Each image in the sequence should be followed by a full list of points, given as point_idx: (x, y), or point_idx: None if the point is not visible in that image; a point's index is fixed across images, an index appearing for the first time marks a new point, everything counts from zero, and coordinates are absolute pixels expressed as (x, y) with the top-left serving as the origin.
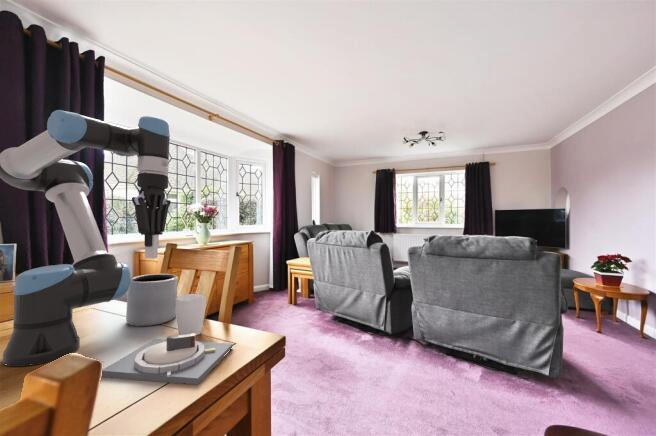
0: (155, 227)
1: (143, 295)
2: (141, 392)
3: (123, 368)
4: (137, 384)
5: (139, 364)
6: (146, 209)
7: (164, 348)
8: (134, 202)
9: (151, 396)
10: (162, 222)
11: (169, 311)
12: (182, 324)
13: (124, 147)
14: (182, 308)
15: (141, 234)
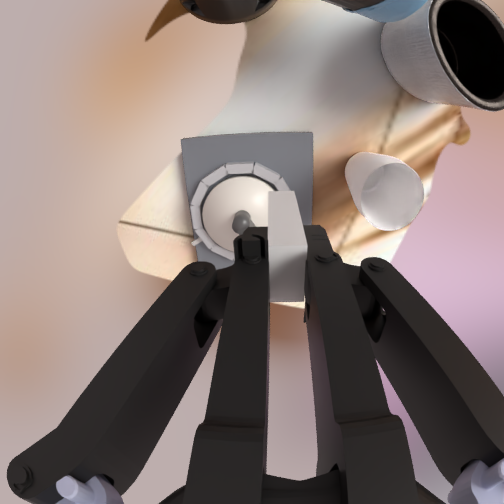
0: (308, 322)
1: (413, 48)
2: (170, 221)
3: (194, 167)
4: (182, 203)
5: (194, 196)
6: (147, 452)
7: (241, 205)
8: (39, 456)
9: (167, 237)
10: (375, 357)
11: (426, 99)
12: (348, 176)
13: None
14: (354, 189)
15: (244, 235)
